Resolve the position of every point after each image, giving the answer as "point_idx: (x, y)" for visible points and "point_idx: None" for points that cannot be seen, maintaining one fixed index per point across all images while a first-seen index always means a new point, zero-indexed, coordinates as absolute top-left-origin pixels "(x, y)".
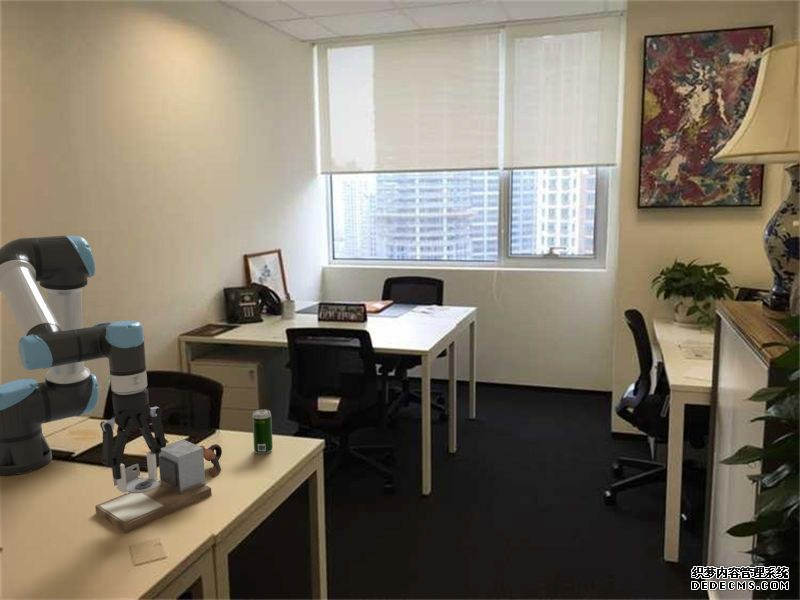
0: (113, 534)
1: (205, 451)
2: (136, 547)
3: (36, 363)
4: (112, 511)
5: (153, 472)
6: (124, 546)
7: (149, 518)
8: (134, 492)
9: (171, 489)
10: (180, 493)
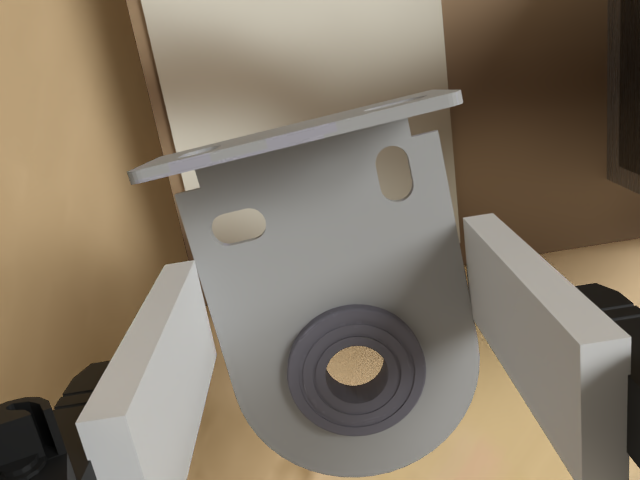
0: (150, 252)
1: None
2: (210, 434)
3: None
4: (179, 93)
5: (495, 347)
6: None
7: None
8: (254, 428)
9: (611, 63)
10: (613, 180)
